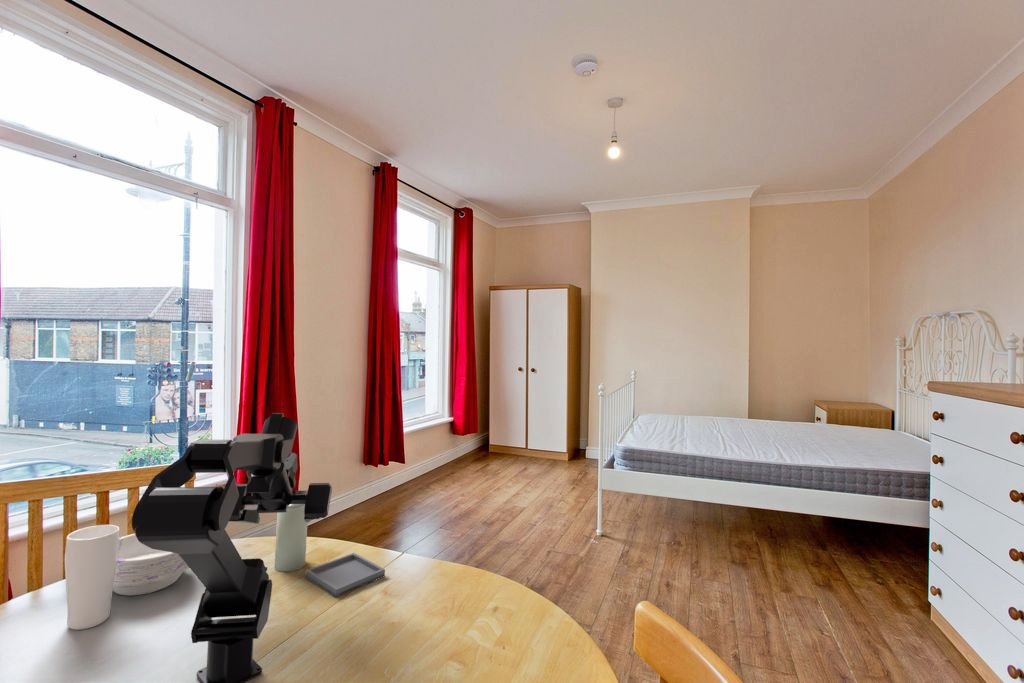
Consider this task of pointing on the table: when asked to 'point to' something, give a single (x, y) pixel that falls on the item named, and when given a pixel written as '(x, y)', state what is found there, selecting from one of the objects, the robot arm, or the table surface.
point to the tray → (344, 574)
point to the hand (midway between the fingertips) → (283, 520)
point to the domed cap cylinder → (291, 539)
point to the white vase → (90, 574)
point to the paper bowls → (144, 568)
